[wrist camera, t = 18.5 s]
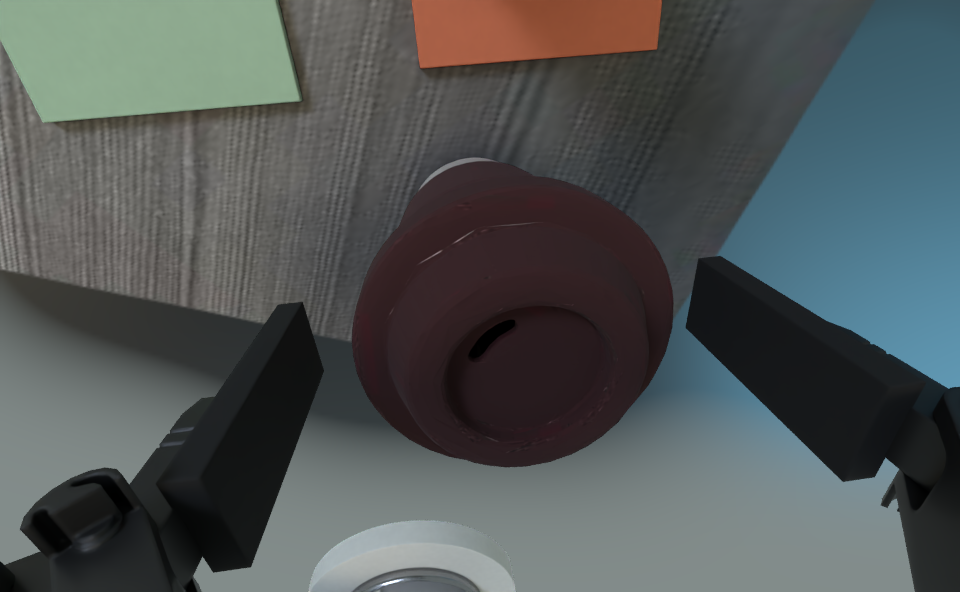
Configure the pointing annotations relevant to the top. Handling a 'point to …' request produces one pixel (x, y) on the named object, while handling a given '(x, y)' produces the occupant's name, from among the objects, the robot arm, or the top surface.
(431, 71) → the top surface
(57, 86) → the sage mat
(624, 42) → the terracotta mat
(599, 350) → the coffee cup
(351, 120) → the top surface
